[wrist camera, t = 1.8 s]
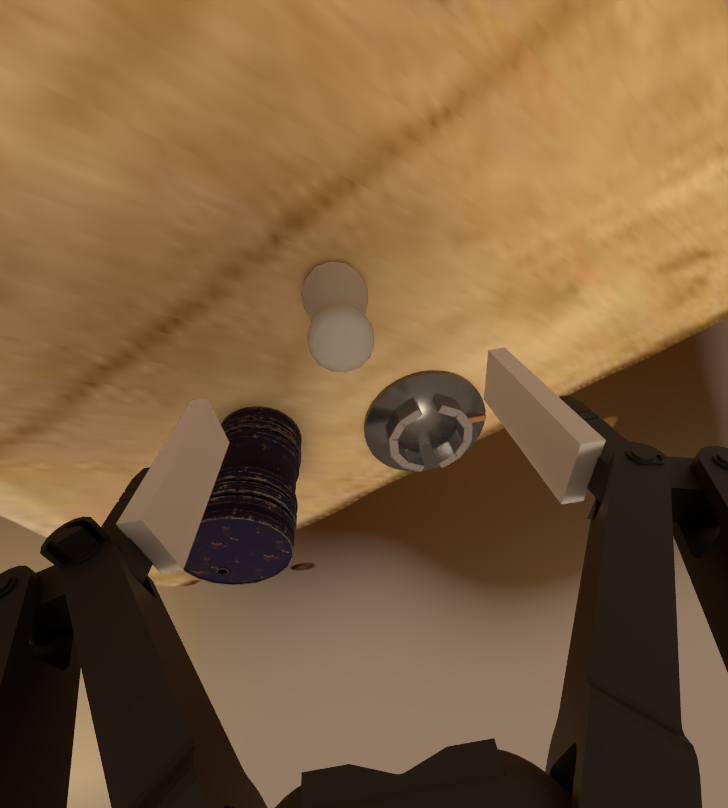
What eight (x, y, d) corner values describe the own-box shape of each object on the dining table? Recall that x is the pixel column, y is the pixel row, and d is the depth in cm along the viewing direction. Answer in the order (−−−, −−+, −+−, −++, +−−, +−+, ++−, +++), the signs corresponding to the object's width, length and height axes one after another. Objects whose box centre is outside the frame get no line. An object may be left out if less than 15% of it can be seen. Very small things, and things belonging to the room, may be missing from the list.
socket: (371, 475, 45) (375, 494, 43) (355, 383, 37) (358, 399, 34) (478, 456, 46) (488, 473, 43) (487, 360, 37) (500, 374, 34)
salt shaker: (292, 299, 31) (276, 361, 20) (321, 242, 29) (322, 279, 18) (344, 329, 33) (356, 400, 23) (376, 279, 31) (406, 331, 20)
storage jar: (236, 391, 36) (193, 501, 24) (316, 425, 40) (315, 535, 27) (205, 452, 40) (155, 573, 28) (280, 478, 44) (265, 593, 32)
